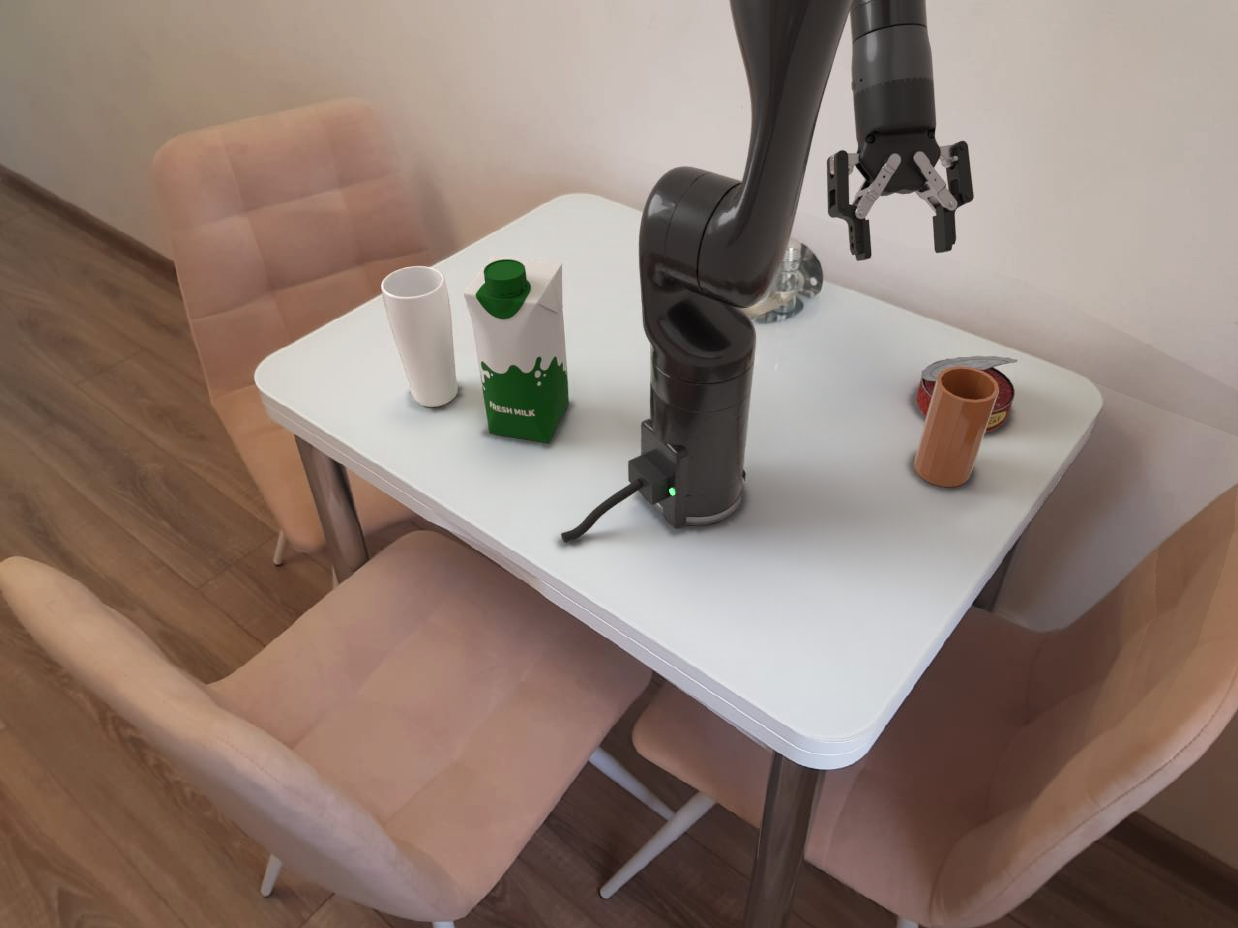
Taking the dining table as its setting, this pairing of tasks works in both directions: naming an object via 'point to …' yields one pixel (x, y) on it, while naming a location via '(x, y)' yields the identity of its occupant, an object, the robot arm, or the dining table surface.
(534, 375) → the milk carton
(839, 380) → the dining table surface
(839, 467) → the dining table surface
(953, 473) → the tumbler
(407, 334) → the drinking glass
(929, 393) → the canned food
